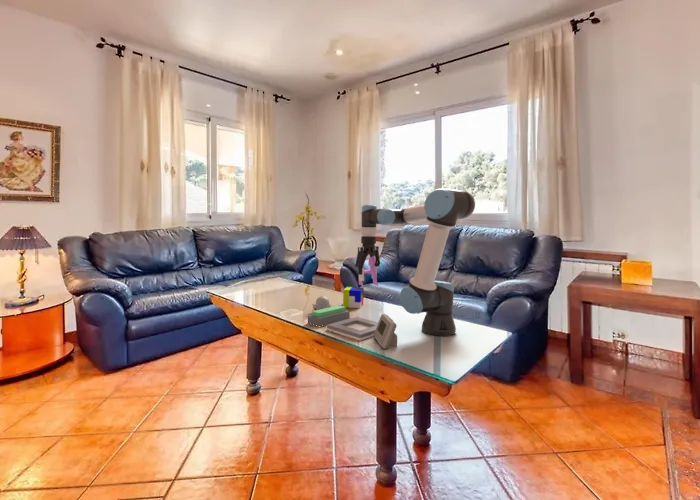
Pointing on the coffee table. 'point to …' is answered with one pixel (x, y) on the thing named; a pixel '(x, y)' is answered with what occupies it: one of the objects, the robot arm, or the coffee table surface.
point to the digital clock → (386, 332)
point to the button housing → (329, 318)
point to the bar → (328, 311)
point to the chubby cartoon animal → (321, 303)
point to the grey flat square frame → (354, 328)
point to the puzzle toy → (353, 297)
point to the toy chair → (371, 271)
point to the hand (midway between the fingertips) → (367, 279)
